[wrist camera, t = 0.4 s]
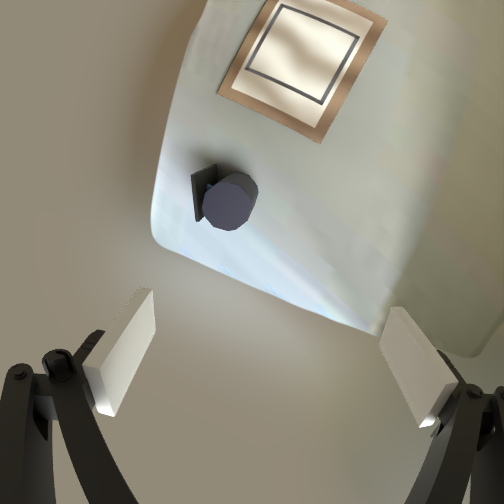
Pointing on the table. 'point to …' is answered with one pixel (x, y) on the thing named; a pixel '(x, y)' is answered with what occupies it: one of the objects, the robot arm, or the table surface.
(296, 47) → the picture frame
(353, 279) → the table surface
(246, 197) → the speaker
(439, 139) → the table surface
